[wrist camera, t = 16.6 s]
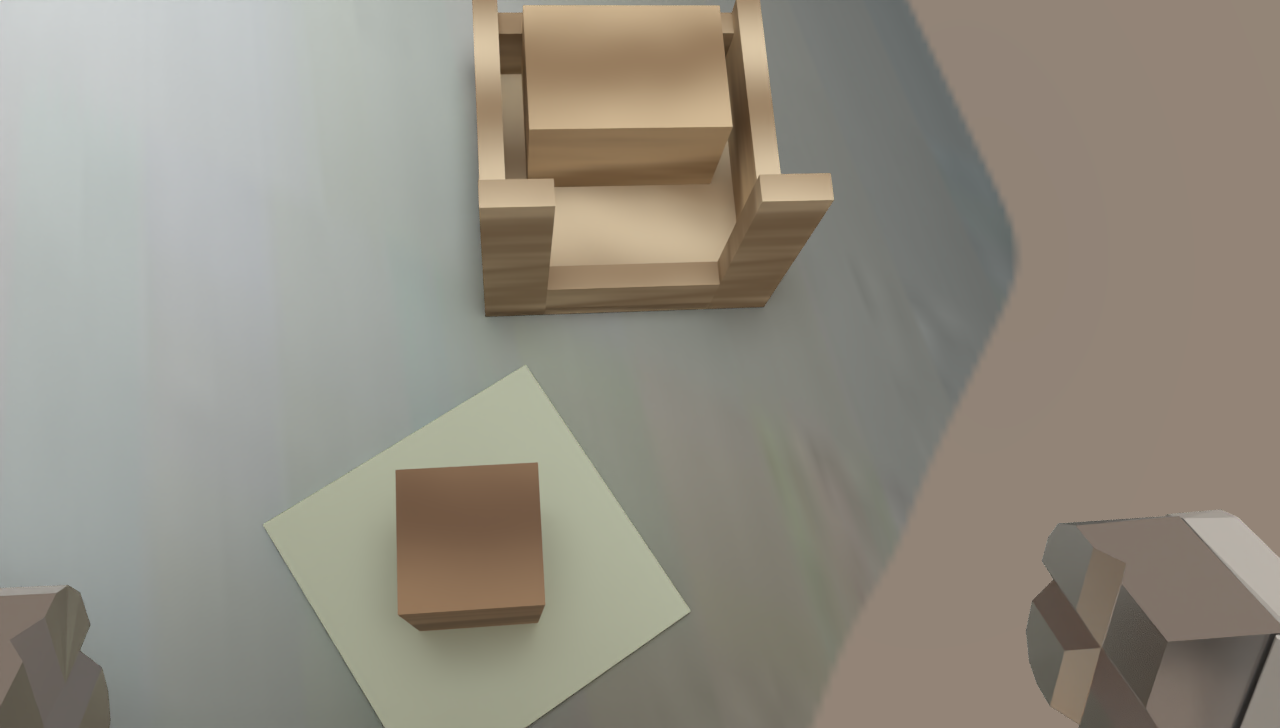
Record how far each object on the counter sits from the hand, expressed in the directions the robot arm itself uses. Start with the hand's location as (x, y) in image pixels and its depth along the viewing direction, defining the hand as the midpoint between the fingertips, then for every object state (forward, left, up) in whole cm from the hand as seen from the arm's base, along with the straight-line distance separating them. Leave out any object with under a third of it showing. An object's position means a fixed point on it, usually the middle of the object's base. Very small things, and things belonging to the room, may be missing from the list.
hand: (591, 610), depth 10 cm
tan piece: (-15, +15, -35) cm, 41 cm away
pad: (-4, +1, -35) cm, 36 cm away
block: (-5, +1, -35) cm, 35 cm away
